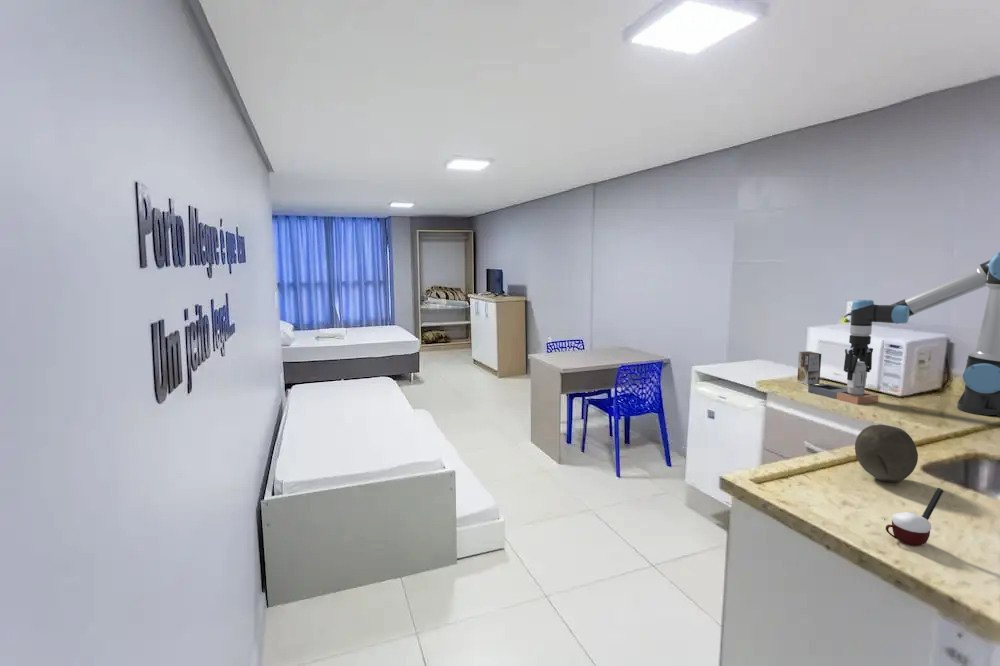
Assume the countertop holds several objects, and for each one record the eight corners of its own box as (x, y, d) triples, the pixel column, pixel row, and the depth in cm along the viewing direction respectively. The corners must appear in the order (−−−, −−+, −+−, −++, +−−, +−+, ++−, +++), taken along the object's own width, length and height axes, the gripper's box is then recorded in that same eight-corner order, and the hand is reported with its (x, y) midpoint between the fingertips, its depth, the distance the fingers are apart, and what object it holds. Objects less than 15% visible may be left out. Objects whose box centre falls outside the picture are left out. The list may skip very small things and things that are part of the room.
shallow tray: (808, 391, 233) (808, 385, 233) (827, 390, 237) (827, 383, 236) (857, 404, 210) (857, 397, 210) (878, 402, 214) (878, 395, 213)
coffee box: (820, 385, 246) (822, 353, 245) (807, 385, 246) (809, 354, 245) (809, 381, 255) (810, 351, 254) (796, 381, 256) (798, 351, 254)
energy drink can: (858, 397, 213) (861, 363, 211) (844, 394, 219) (846, 361, 217) (867, 395, 215) (869, 362, 214) (852, 392, 221) (855, 360, 219)
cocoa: (885, 544, 103) (887, 490, 102) (883, 530, 109) (884, 478, 107) (945, 555, 98) (948, 499, 97) (939, 540, 103) (942, 486, 102)
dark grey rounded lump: (930, 487, 129) (935, 432, 127) (884, 492, 127) (889, 436, 125) (881, 467, 143) (885, 417, 141) (838, 470, 141) (842, 420, 139)
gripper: (867, 333, 220) (863, 383, 223) (835, 335, 215) (832, 386, 217) (885, 334, 213) (880, 386, 216) (852, 337, 208) (848, 390, 210)
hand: (856, 386), depth 217 cm, fingers closed on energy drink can, 6 cm apart
